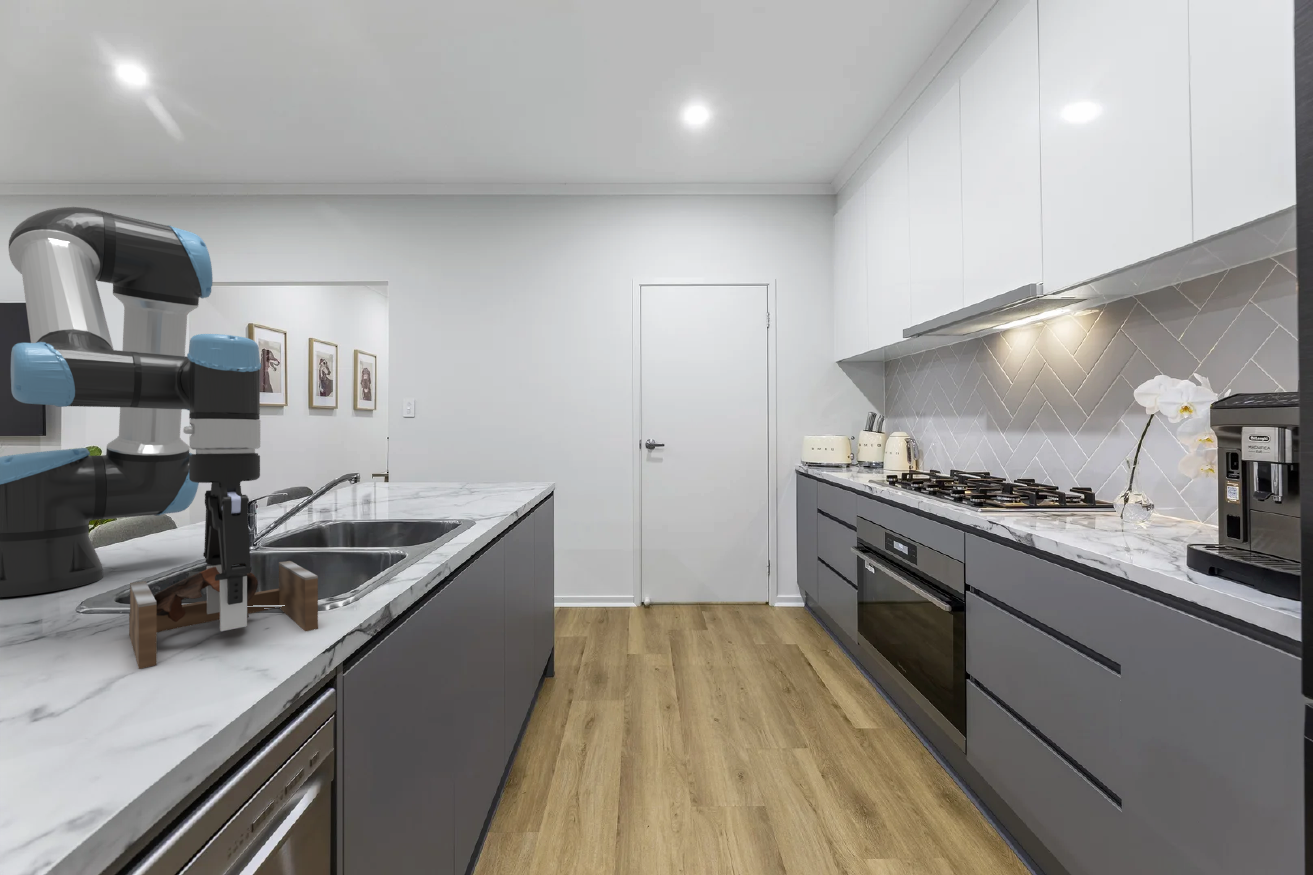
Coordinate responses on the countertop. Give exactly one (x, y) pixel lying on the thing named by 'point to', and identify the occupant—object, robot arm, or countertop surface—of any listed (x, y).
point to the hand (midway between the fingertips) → (226, 619)
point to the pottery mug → (193, 592)
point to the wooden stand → (145, 623)
